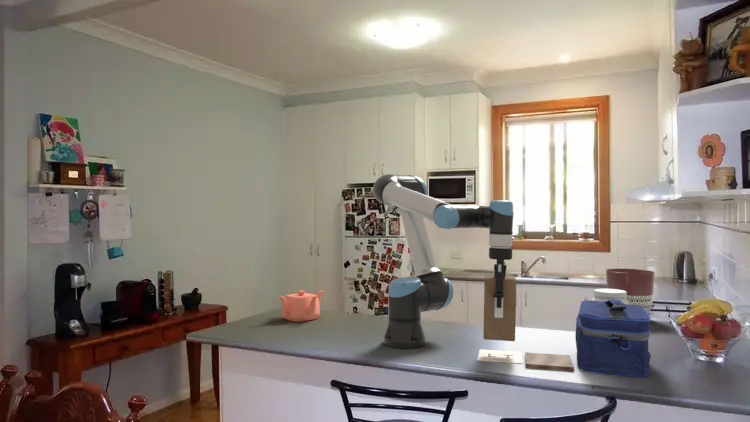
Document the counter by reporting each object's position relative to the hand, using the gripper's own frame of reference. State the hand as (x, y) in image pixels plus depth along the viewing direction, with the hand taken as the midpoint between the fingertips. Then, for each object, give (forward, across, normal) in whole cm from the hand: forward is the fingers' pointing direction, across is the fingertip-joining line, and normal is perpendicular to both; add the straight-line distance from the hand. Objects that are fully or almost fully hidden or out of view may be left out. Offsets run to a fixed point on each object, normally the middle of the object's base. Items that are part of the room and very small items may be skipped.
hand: (499, 314), depth 182 cm
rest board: (+14, -4, -16) cm, 21 cm away
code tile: (+14, 0, -1) cm, 14 cm away
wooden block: (+8, 0, 0) cm, 8 cm away
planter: (+14, +78, -54) cm, 96 cm away
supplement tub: (+14, +35, -40) cm, 54 cm away
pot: (+16, +40, +85) cm, 95 cm away
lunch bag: (+14, +1, -35) cm, 38 cm away
